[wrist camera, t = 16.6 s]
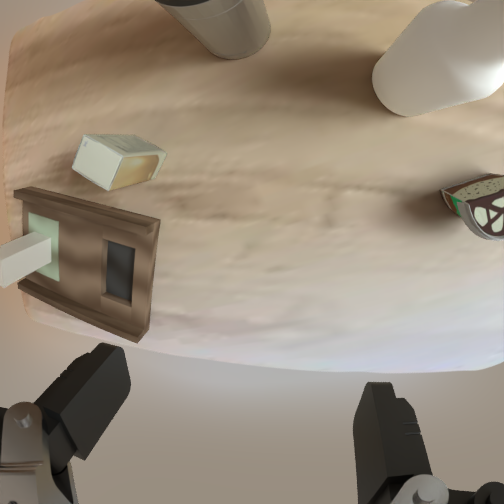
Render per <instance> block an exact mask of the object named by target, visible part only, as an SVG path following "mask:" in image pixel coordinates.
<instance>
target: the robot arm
mask: <svg viewBox="0 0 504 504" xmlns="http://www.w3.org/2000/svg"><path fill="white" fill-rule="evenodd" d="M155 1H156V2H157V3H159V4H160V5H161V6H162V7H163V8H164V9H165V10H167V11H168V12H169V13H170V14H171V15H172V16H173V17H174V18H176V19H177V20H178V21H179V22H180V23H181V24H182V25H183V26H184V27H185V28H186V29H187V30H188V31H189V32H190V33H192V34H193V35H194V36H195V37H196V38H197V39H198V40H199V41H200V42H201V43H202V44H203V45H204V46H205V47H206V48H207V49H208V50H209V51H210V52H211V53H213V54H214V55H216V56H218V57H221V58H225V59H241V58H244V57H248V56H250V55H252V54H254V53H255V52H257V51H258V50H259V49H261V48H262V47H263V45H264V44H265V43H266V41H267V39H268V38H269V34H270V22H269V18H268V15H267V11H266V7H265V4H264V1H263V0H155ZM130 386H131V381H130V376H129V372H128V367H127V363H126V358H125V353H124V350H123V349H122V348H121V347H118V346H115V345H110V344H107V343H100V344H98V345H97V347H96V348H95V349H94V350H93V351H92V352H91V353H86V354H84V355H82V356H80V357H78V358H76V359H75V360H74V361H73V362H72V363H71V364H70V365H69V366H68V367H67V370H64V371H63V372H62V373H61V374H60V377H58V378H57V379H56V380H55V381H54V382H53V383H52V384H51V385H50V386H49V387H48V388H47V389H46V390H45V391H44V393H43V394H42V395H41V396H40V397H39V398H38V399H37V400H36V401H35V402H34V403H31V402H19V403H16V404H14V405H12V406H11V407H10V408H9V409H7V408H2V407H0V504H79V503H78V499H77V494H76V489H75V483H74V478H73V472H72V466H71V463H70V459H71V458H72V456H73V455H74V456H76V457H78V458H80V459H83V460H86V458H87V457H88V455H89V454H90V452H91V451H92V449H93V447H94V446H95V444H96V443H97V442H98V440H99V438H100V437H101V435H102V434H103V432H104V431H105V429H106V428H107V426H108V425H109V423H110V422H111V420H112V419H113V417H114V416H115V414H116V413H117V411H118V410H119V408H120V407H121V405H122V404H123V402H124V401H125V399H126V398H127V396H128V394H129V392H130ZM420 432H421V431H420V428H419V425H418V424H417V418H416V415H415V412H414V409H413V408H412V406H411V405H410V404H409V403H408V402H407V401H406V399H405V398H396V396H395V393H394V389H393V386H392V384H391V383H390V382H368V383H367V384H366V386H365V388H364V391H363V394H362V397H361V400H360V403H359V405H358V408H357V411H356V413H355V417H354V423H353V437H354V447H355V460H356V472H357V489H358V504H504V484H502V483H499V482H489V483H486V484H484V485H483V486H482V487H480V489H478V490H477V492H469V491H458V490H451V489H448V488H447V487H446V485H445V483H444V482H443V481H442V480H440V479H439V478H437V477H435V476H433V475H432V472H431V468H430V464H429V460H428V456H427V453H426V449H425V445H424V442H423V439H422V435H420Z"/></svg>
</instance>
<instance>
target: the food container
mask: <svg viewBox="0 0 504 504" xmlns="http://www.w3.org/2000/svg"><path fill="white" fill-rule="evenodd" d="M440 192H441V195H442V198H443V200H444V201H445V203H446V205H447V206H448V207H449V208H450V209H451V210H452V211H453V212H454V213H456V214H457V215H458V216H460V217H461V218H462V219H463V221H464V222H465V224H466V225H467V227H468V228H469V229H470V230H471V231H472V232H473V233H474V234H476V235H477V236H479V237H481V238H484V239H488V240H496V241H500V240H504V175H500V174H492V173H490V174H487V175H484V176H481V177H477V178H474V179H471V180H468V181H465V182H462V183H459V184H456V185H453V186H450V187H447V188H443V189H440Z"/></svg>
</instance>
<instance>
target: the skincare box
mask: <svg viewBox="0 0 504 504" xmlns="http://www.w3.org/2000/svg"><path fill="white" fill-rule="evenodd" d="M166 155H167V152H165V151H164V150H162V149H160V148H159V147H157V146H155V145H153V144H151V143H149V142H148V141H146V140H144V139H142V138H140V137H137V136H135V135H113V134H84V135H83V138H82V140H81V143H80V145H79V148H78V150H77V153H76V156H75V159H74V162H73V165H72V169H74V170H75V171H76V172H78V173H79V174H81V175H82V176H84V177H85V178H87V179H89V180H90V181H92V182H93V183H95V184H97V185H98V186H100V187H102V188H104V189H106V190H107V191H110V190H114V189H117V188H121V187H125V186H128V185H132V184H136V183H140V182H144V181H148V180H152V179H155V177H156V175H157V173H158V171H159V169H160V167H161V165H162V163H163V161H164V159H165V157H166Z"/></svg>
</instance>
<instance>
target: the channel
mask: <svg viewBox="0 0 504 504" xmlns="http://www.w3.org/2000/svg"><path fill="white" fill-rule="evenodd" d="M14 198H17V199H21V200H23V236H25V235H27V234H30V233H32V232H37V233H40V234H43V235H45V236H48V237H51V262H50V263H48V264H46V265H45V266H43V267H41V268H39V269H37V270H35V271H33V272H32V273H30V274H28V275H26V278H25V279H23V280H22V281H20V282H18V289H20V290H22V291H24V292H26V293H28V294H30V295H31V296H33V297H35V298H37V299H39V300H41V301H43V302H45V303H47V304H49V305H51V306H53V307H55V308H57V309H59V310H61V311H63V312H65V313H67V314H70V315H72V316H74V317H76V318H78V319H80V320H83V321H85V322H87V323H89V324H91V325H94V326H96V327H98V328H101V329H103V330H105V331H108V332H110V333H112V334H115V335H117V336H120V337H122V338H125V339H127V340H130V341H132V342H135V343H138V342H139V341H140V340H141V338H142V337H143V336H144V335H145V334H146V332H147V331H148V330H149V323H150V310H151V298H152V287H153V277H154V267H155V259H156V250H157V242H158V234H159V227H160V219H156V218H152V217H148V216H144V215H141V214H137V213H133V212H129V211H125V210H121V209H117V208H114V207H110V206H106V205H102V204H98V203H94V202H90V201H86V200H82V199H78V198H75V197H71V196H67V195H63V194H59V193H55V192H51V191H47V190H43V189H39V188H35V187H26V188H22V189H18V190H14Z"/></svg>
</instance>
